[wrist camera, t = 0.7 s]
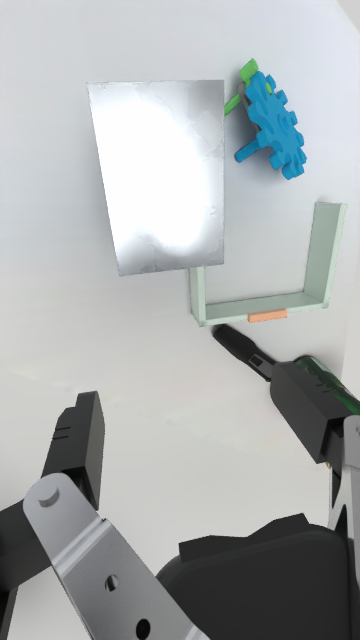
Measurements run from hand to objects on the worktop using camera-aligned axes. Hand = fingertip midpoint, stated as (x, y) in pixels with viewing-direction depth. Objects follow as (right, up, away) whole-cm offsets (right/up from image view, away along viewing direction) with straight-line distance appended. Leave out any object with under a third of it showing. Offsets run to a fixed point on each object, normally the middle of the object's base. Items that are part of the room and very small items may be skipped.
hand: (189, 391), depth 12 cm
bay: (+9, +12, +24) cm, 28 cm away
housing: (-4, +18, +18) cm, 26 cm away
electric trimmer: (+10, -2, +31) cm, 33 cm away
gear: (+8, +24, +18) cm, 31 cm away
